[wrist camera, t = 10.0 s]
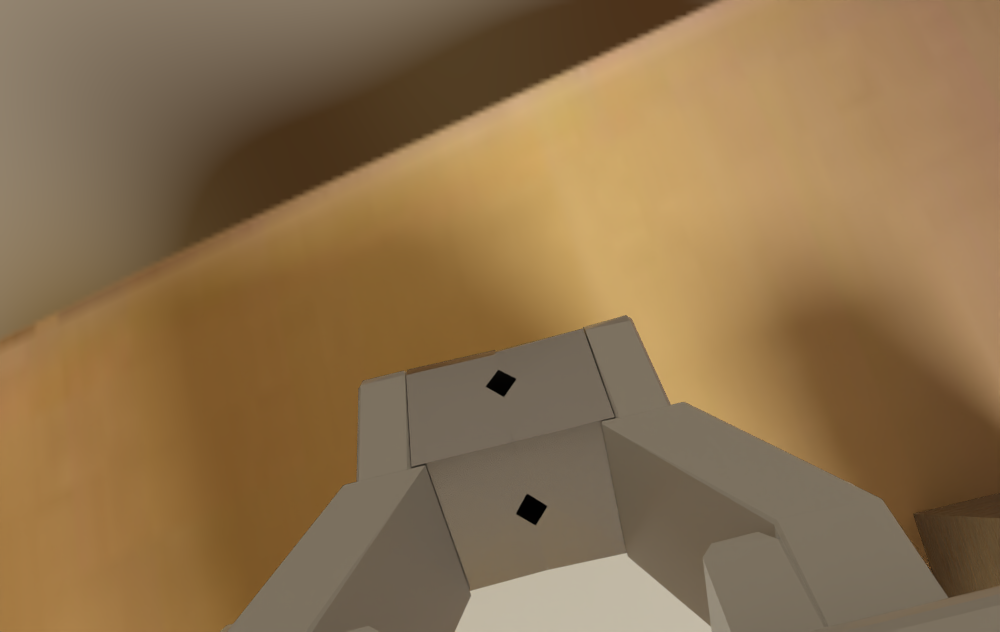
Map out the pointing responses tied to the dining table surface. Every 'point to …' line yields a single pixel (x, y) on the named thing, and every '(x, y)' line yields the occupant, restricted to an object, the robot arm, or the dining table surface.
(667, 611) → the lid flap
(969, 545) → the block
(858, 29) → the dining table surface
